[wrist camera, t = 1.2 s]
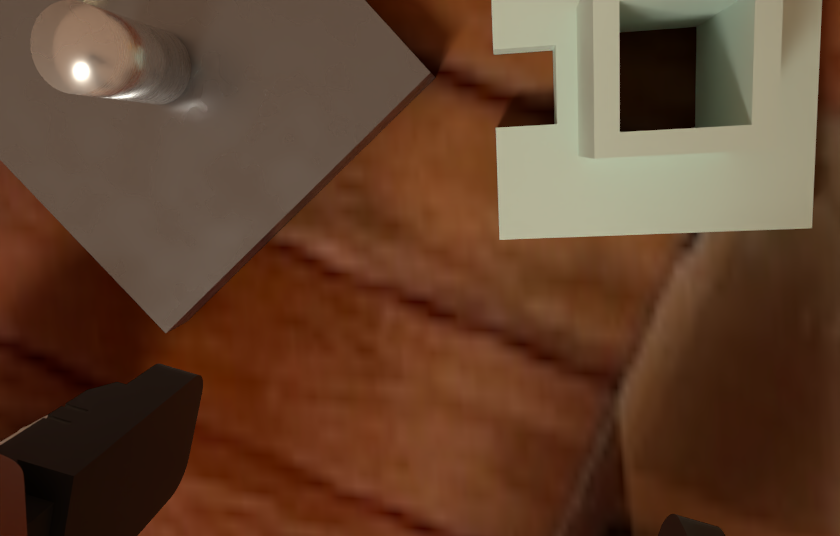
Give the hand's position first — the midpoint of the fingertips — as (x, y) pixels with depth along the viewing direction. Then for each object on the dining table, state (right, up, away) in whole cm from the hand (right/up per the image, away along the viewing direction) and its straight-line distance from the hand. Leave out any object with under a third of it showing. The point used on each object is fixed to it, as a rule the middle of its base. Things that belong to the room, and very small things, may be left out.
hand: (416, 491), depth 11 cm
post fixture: (-10, +12, +18) cm, 25 cm away
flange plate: (+9, +11, +16) cm, 22 cm away
